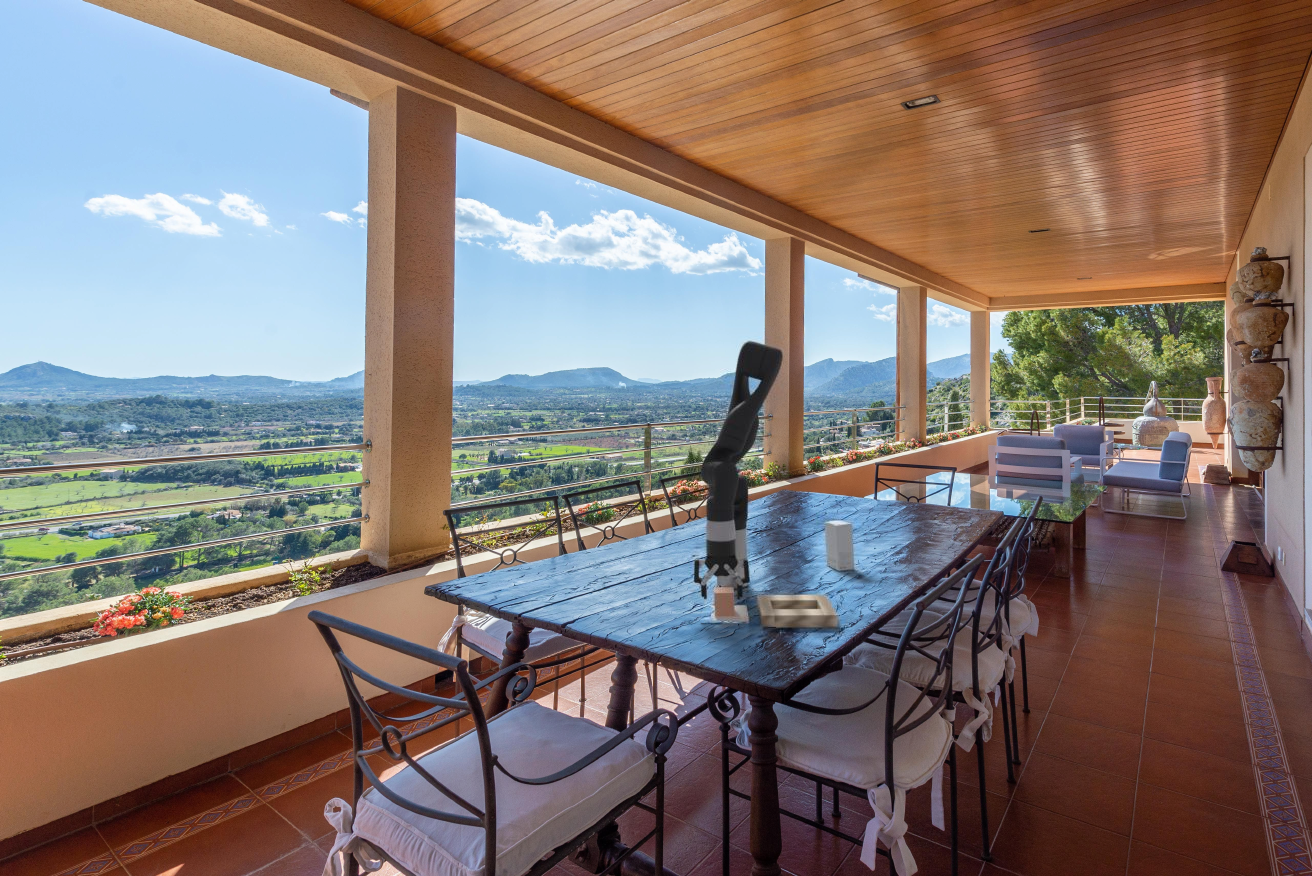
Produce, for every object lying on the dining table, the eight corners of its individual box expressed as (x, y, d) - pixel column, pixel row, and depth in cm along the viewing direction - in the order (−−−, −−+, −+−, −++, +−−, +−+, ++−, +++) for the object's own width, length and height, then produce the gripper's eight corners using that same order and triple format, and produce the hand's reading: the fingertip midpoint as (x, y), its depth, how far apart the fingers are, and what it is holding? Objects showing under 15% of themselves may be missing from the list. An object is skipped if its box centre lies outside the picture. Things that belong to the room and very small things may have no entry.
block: (714, 616, 164) (714, 593, 163) (714, 609, 169) (714, 587, 168) (734, 616, 163) (734, 592, 163) (734, 609, 168) (733, 587, 168)
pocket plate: (762, 627, 156) (761, 615, 156) (757, 606, 172) (757, 595, 172) (837, 627, 155) (837, 615, 154) (825, 605, 171) (825, 594, 170)
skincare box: (854, 570, 204) (854, 523, 203) (837, 571, 203) (836, 525, 202) (841, 563, 212) (840, 519, 211) (824, 565, 211) (824, 520, 210)
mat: (700, 623, 160) (700, 621, 160) (701, 607, 172) (701, 605, 172) (749, 623, 159) (748, 620, 159) (746, 607, 171) (746, 605, 171)
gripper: (692, 540, 162) (693, 603, 163) (749, 539, 160) (750, 603, 161) (693, 533, 169) (695, 594, 170) (748, 533, 168) (749, 594, 169)
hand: (722, 598), depth 166 cm, fingers open, 8 cm apart
